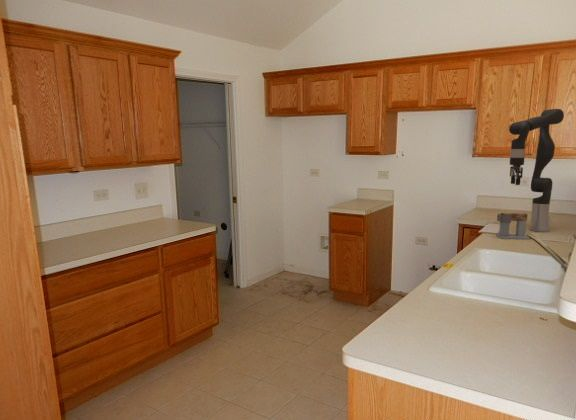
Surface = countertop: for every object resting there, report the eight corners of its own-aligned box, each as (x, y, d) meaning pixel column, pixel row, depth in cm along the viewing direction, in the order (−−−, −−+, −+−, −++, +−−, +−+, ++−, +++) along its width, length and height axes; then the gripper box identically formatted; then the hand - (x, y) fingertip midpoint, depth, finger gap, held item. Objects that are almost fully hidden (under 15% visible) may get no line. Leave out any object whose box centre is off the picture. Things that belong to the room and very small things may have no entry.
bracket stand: (523, 236, 241) (525, 214, 239) (529, 239, 234) (530, 216, 232) (496, 235, 244) (497, 213, 242) (500, 238, 236) (501, 215, 235)
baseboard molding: (475, 233, 255) (497, 235, 248) (475, 228, 254) (497, 230, 247) (484, 225, 280) (504, 227, 273) (485, 221, 279) (505, 223, 273)
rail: (524, 219, 238) (524, 213, 238) (526, 221, 234) (527, 214, 234) (500, 219, 240) (500, 212, 240) (502, 220, 236) (503, 213, 236)
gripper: (528, 157, 234) (526, 185, 237) (519, 156, 248) (517, 183, 251) (514, 157, 236) (512, 185, 238) (506, 156, 250) (504, 183, 252)
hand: (515, 184), depth 245 cm, fingers open, 8 cm apart
